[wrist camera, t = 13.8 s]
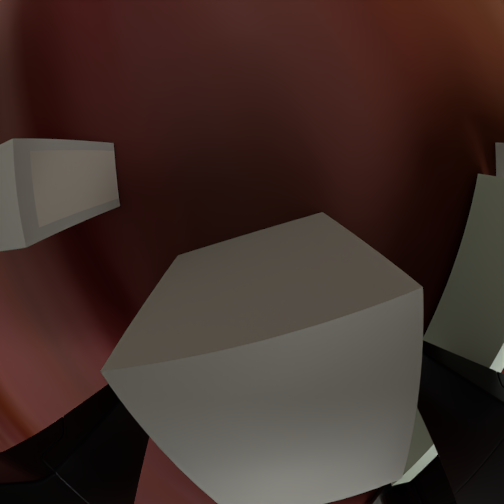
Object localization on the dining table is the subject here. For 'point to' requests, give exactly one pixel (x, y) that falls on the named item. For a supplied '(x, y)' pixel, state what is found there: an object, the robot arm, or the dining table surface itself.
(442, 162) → the dining table surface
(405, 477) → the pale green curved bar
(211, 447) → the grey cube block
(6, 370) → the dining table surface
